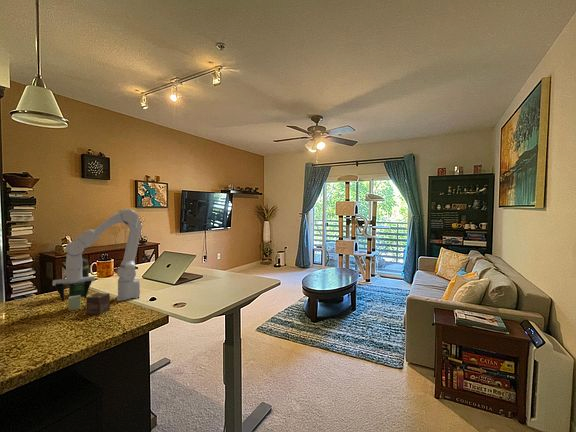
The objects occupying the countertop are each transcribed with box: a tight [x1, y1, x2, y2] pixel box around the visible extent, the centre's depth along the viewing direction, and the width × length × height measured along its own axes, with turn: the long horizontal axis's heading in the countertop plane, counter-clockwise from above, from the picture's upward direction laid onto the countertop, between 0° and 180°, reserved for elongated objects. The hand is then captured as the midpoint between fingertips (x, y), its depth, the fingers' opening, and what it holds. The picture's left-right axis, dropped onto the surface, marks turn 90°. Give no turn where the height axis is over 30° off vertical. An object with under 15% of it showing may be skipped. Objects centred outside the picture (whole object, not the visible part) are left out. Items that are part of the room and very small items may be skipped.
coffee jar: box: [68, 257, 90, 297], centre depth 139 cm, size 10×8×19 cm
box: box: [85, 292, 111, 316], centre depth 116 cm, size 6×6×7 cm
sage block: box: [67, 295, 82, 311], centre depth 120 cm, size 4×4×5 cm
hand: (74, 299), depth 120 cm, fingers open, 7 cm apart
